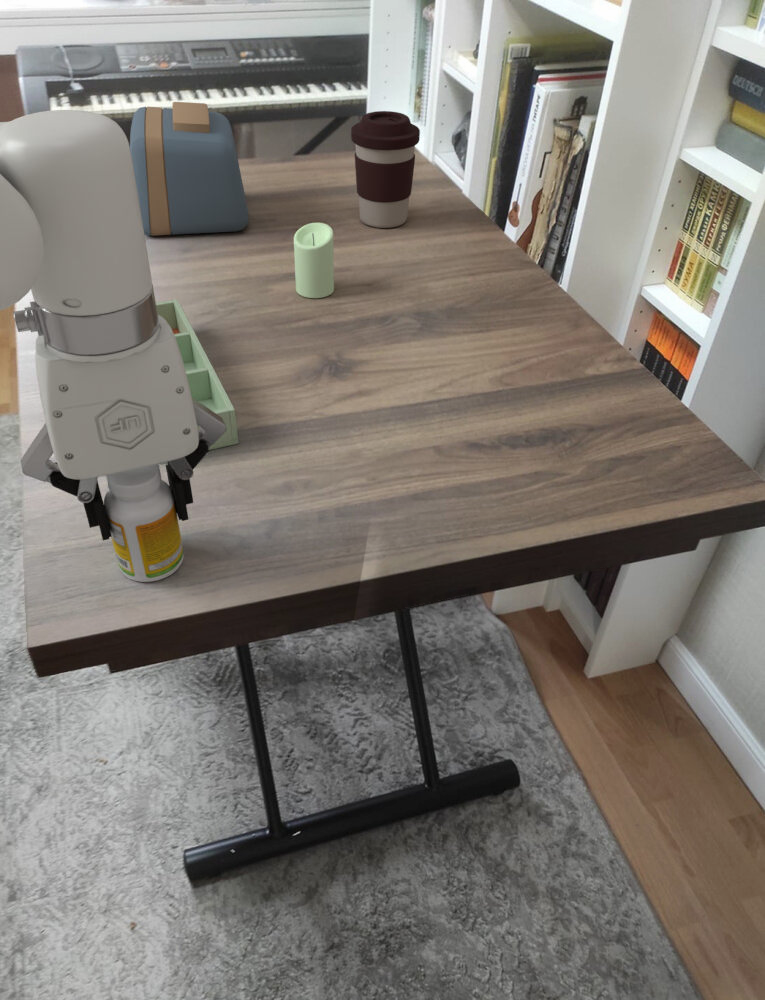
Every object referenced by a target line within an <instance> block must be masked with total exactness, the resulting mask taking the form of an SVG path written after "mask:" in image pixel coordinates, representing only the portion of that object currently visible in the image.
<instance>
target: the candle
mask: <svg viewBox="0 0 765 1000" xmlns="http://www.w3.org/2000/svg"><path fill="white" fill-rule="evenodd" d="M334 254H335V253H334V230H333V229H332V227H331V226H330V225H328V224H327V223H324V222H312V223H307V224H305V225H303V226H302V227H300V228H298V230H297V231H296V232H295V234H294V235H293V255H294V276H295V278H294V279H295V292H296V293H297V294H298V295H299V296H301V297H303V298H306V299H323V298H326V297H329V296H331V295H332V294H333V293H334V291H335V267H334V266H335V262H334V261H335V258H334Z"/></svg>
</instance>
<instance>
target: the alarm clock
mask: <svg viewBox="0 0 765 1000" xmlns="http://www.w3.org/2000/svg"><path fill="white" fill-rule="evenodd" d="M128 142H129V147H130V151H131V156H132V162H133V168H134V174H135V180H136V186H137V192H138V198H139V204H140V210H141V217H142V223H143V229H144V235H145V236H151V237H152V236H153V237H154V236H171V235H193V234H210V233H229V232H232V233H233V232H239V231H242V230H244V229H245V228H246V226H247V225H248V224H249V217H250V214H249V209H248V203H247V200H246V199H247V198H246V194H245V189H244V184H243V178H242V174H241V168H240V163H239V157H238V153H237V148H236V143H235V142H236V141H235V138H234V133H233V129H232V126H231V123H230V120H229V119H228V118H227V117H226V116H225V115H224V114H222V113H220V112H216V111H209V106H208V104H207V103H204V102H187V101H173V102H172V108H171V107H161V106H159V107H158V106H142V107H138V108H137V110H135V112H133V115H132V119H131V126H130V134H129V141H128Z"/></svg>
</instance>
